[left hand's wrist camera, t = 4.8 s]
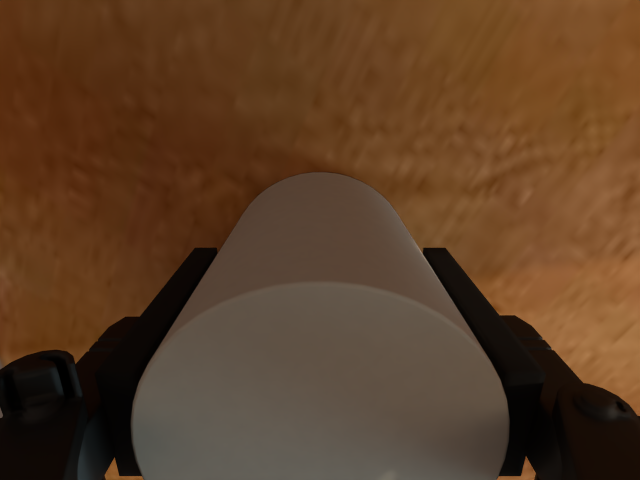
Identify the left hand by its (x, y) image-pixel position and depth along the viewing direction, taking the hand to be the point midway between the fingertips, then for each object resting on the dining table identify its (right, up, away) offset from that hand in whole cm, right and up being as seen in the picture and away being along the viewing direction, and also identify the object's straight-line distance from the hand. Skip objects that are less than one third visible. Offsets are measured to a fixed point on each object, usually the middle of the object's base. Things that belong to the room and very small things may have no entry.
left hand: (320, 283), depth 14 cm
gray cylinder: (0, +1, +2) cm, 2 cm away
